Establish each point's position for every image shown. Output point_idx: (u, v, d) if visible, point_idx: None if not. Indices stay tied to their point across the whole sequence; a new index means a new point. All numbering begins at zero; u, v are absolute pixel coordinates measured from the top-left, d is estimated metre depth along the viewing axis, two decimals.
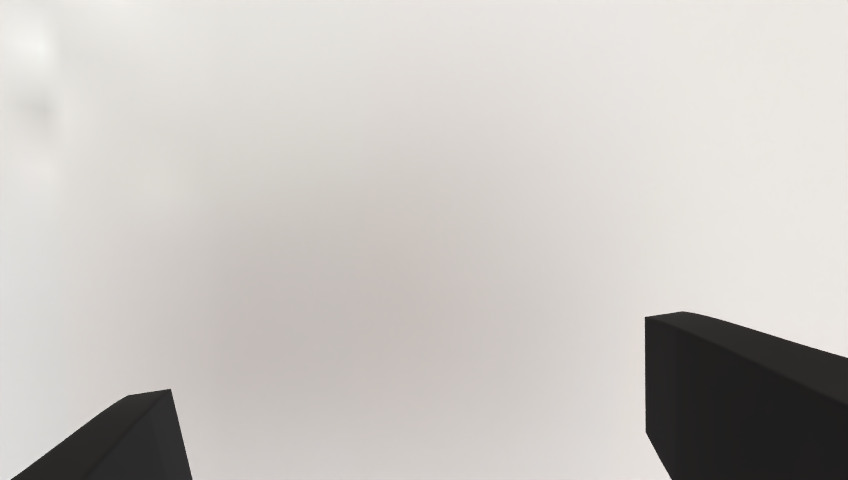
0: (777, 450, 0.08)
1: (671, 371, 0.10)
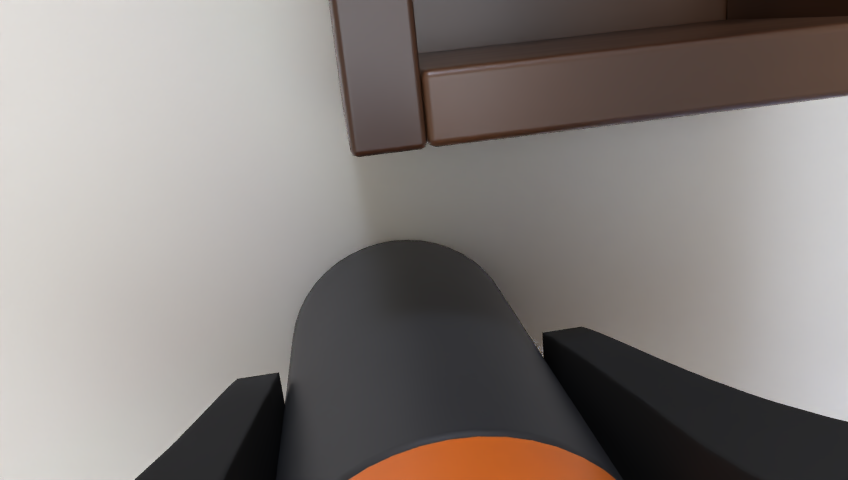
0: (640, 474, 0.08)
1: None
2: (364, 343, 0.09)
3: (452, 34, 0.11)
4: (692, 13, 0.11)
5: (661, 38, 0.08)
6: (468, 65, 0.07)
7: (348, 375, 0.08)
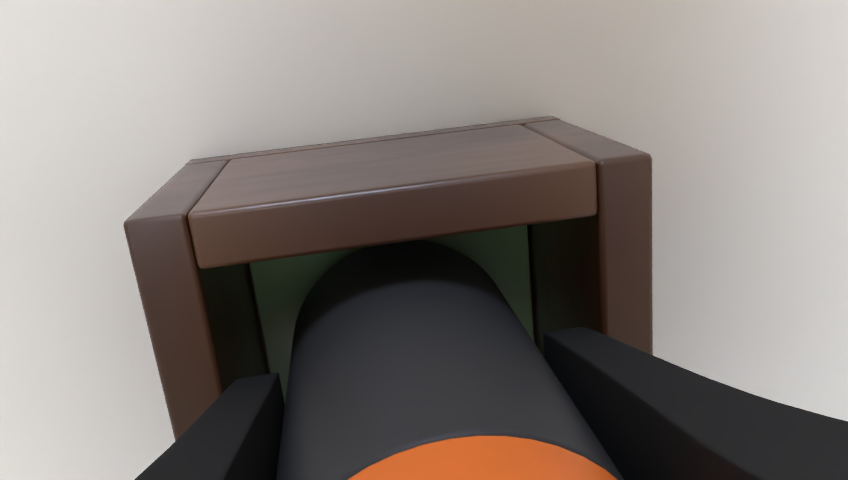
0: (641, 474, 0.08)
1: None
2: (364, 342, 0.09)
3: None
4: None
5: None
6: None
7: (349, 374, 0.08)
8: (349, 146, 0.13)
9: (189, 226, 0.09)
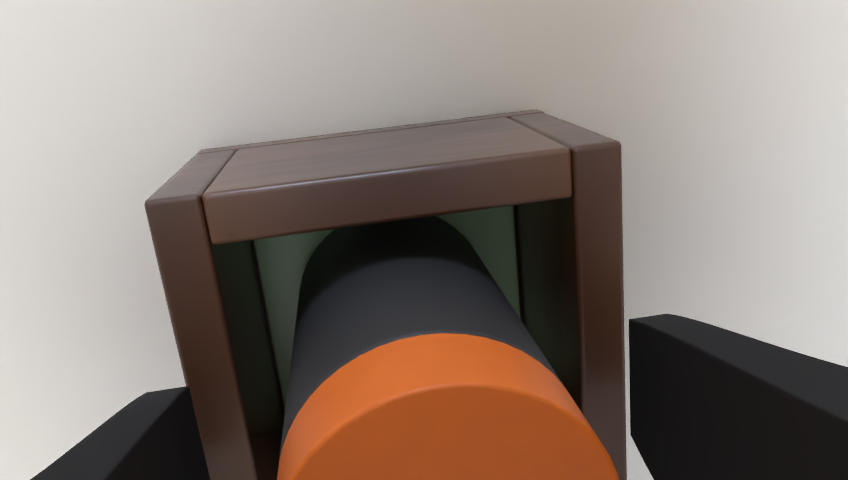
0: (756, 454, 0.08)
1: (654, 374, 0.10)
2: (359, 279, 0.11)
3: None
4: None
5: None
6: None
7: (346, 302, 0.10)
8: (348, 137, 0.14)
9: (203, 205, 0.10)
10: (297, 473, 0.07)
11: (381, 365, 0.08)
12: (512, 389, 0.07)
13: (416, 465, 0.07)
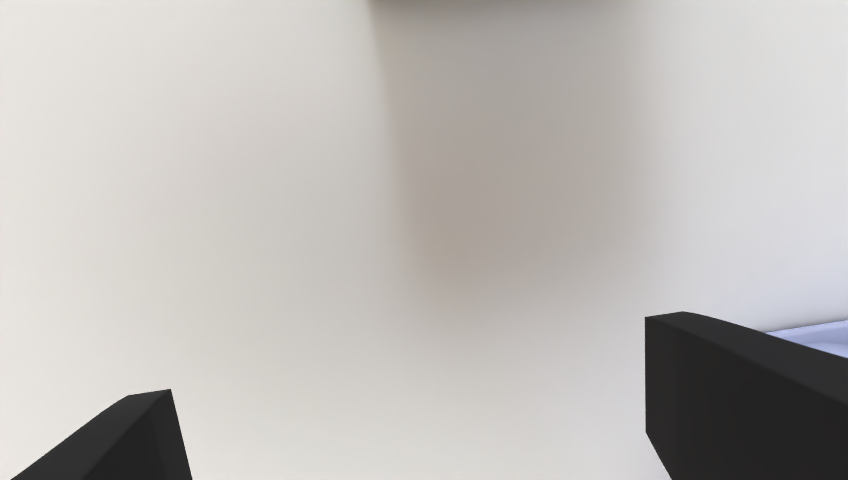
0: (777, 450, 0.08)
1: (671, 371, 0.10)
2: None
3: None
4: None
5: None
6: None
7: None
8: None
9: None
10: None
11: None
12: None
13: None
